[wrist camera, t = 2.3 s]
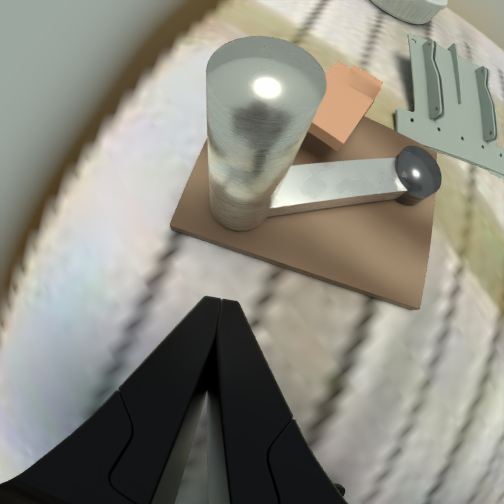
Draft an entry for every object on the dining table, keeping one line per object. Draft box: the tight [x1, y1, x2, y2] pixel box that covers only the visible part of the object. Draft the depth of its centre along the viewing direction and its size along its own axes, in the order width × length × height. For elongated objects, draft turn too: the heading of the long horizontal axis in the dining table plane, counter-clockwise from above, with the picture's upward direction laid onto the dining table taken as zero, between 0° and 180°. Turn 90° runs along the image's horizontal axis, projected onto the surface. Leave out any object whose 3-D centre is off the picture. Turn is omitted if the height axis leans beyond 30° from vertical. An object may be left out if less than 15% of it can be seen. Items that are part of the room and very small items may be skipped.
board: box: [170, 116, 437, 310], centre depth 21 cm, size 13×17×1 cm
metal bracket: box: [395, 34, 504, 179], centre depth 24 cm, size 14×6×15 cm
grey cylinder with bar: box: [206, 36, 441, 231], centre depth 15 cm, size 16×4×11 cm, turn 101°
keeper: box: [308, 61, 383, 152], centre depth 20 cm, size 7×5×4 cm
